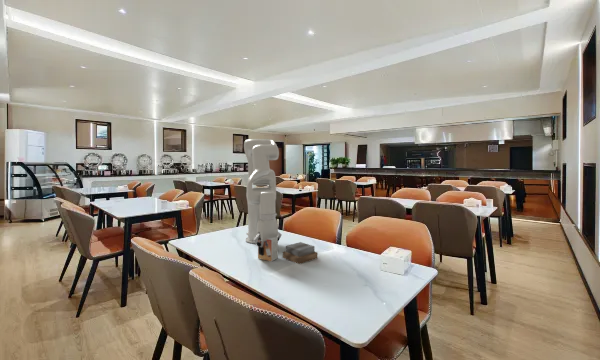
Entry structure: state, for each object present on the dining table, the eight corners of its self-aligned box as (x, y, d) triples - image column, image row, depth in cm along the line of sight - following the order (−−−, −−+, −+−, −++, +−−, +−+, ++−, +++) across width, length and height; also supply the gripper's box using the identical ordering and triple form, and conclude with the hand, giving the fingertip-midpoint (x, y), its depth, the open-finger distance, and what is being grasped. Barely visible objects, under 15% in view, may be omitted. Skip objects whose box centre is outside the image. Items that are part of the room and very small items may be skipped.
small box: (257, 259, 142) (257, 237, 141) (264, 255, 147) (264, 235, 146) (271, 261, 138) (271, 239, 138) (278, 258, 143) (277, 237, 143)
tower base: (282, 257, 144) (282, 245, 143) (300, 252, 152) (300, 241, 151) (299, 264, 135) (299, 251, 134) (317, 258, 143) (317, 246, 142)
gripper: (277, 213, 150) (277, 247, 151) (247, 218, 138) (248, 255, 139) (286, 215, 144) (286, 251, 145) (256, 220, 133) (257, 259, 134)
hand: (267, 252), depth 142 cm, fingers closed on small box, 7 cm apart
